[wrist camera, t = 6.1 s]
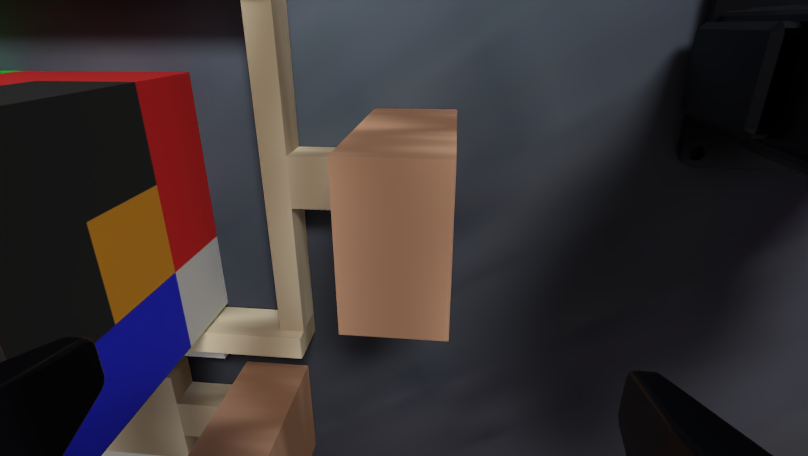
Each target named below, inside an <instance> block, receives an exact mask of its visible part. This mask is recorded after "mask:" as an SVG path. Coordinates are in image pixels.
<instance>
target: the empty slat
mask: <svg viewBox="0 0 808 456" xmlns="http://www.w3.org/2000/svg"><path fill="white" fill-rule="evenodd" d="M315 445H316V440H315V430H314V420H313V409H312V399H311V389H310V379H309V368H308V365H295V364H280V363H266V362H251V361H247V362H246V364H245V365H244V367H243V369H242V370H241V372H240V373H239V375H238V376H237V378H236V380H235V381H234V383H233V384H232V385H231V384H218V383H204V382H193V380H192V376H191V371H190V366H189V362H188V357H183V358H182V359H181V360H180V361H179V363H178V364H177V365H176V366H175V368H174V369H173V370H172V371H171V372H170V374H169V375H168V376H167V377H166V378H165V380H164V381H163V382H162V383H161V384H160V386H159V387H158V388H157V389H156V390H155V392H154V393H153V394H152V395H151V397H150V398H149V399H148V400H147V401H146V403H145V404H144V405H143V406H142V407H141V409H140V410H139V411H138V412H137V413H136V415H135V416H134V417H133V418H132V419H131V421H130V422H129V423H128V424H127V426H126V427H125V428H124V429H123V430H122V432H121V433H120V434H119V435H118V436H117V438H116V439H115V440H114V441H113V442H112V444H111V445H110V446H109V447H108V448H107V450H106V451H116V452H127V453H138V454H149V455H160V456H312V454H313V451H314V448H315Z"/></svg>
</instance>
